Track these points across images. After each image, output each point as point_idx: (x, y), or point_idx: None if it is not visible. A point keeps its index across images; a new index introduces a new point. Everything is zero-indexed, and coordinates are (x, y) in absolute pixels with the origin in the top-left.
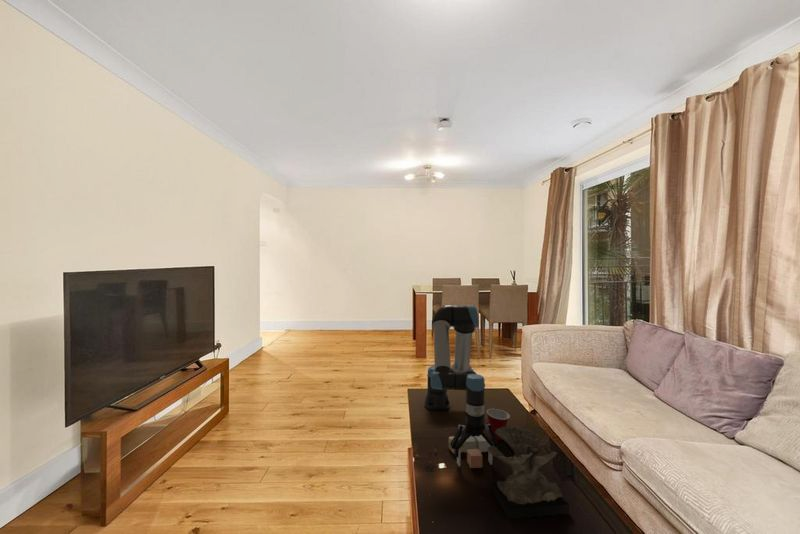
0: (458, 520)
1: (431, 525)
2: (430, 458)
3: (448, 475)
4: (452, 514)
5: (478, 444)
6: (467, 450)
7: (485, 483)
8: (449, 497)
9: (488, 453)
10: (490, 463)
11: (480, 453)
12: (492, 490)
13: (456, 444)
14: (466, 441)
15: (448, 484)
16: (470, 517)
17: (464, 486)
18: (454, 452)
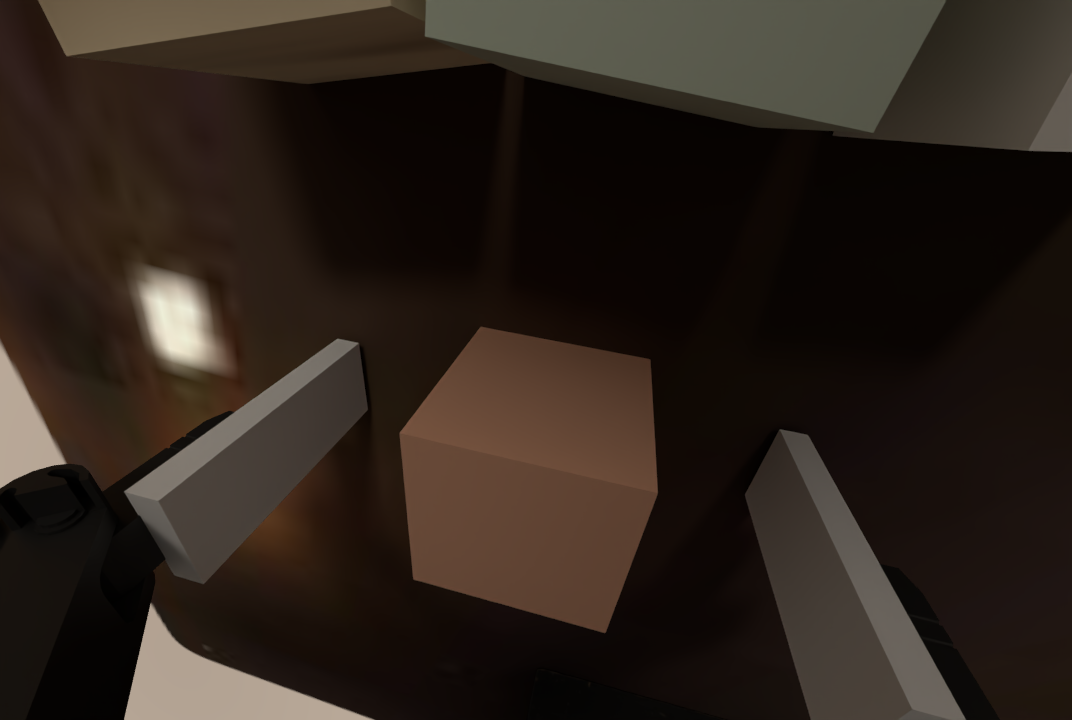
0: (307, 681)
1: (205, 655)
2: (12, 153)
3: None
4: (283, 659)
5: (950, 89)
6: (404, 453)
7: (527, 615)
8: (268, 601)
9: (825, 526)
10: (749, 504)
11: (603, 596)
12: (535, 676)
13: (25, 578)
14: (489, 54)
15: (259, 534)
16: (359, 693)
17: (365, 581)
18: (315, 81)
